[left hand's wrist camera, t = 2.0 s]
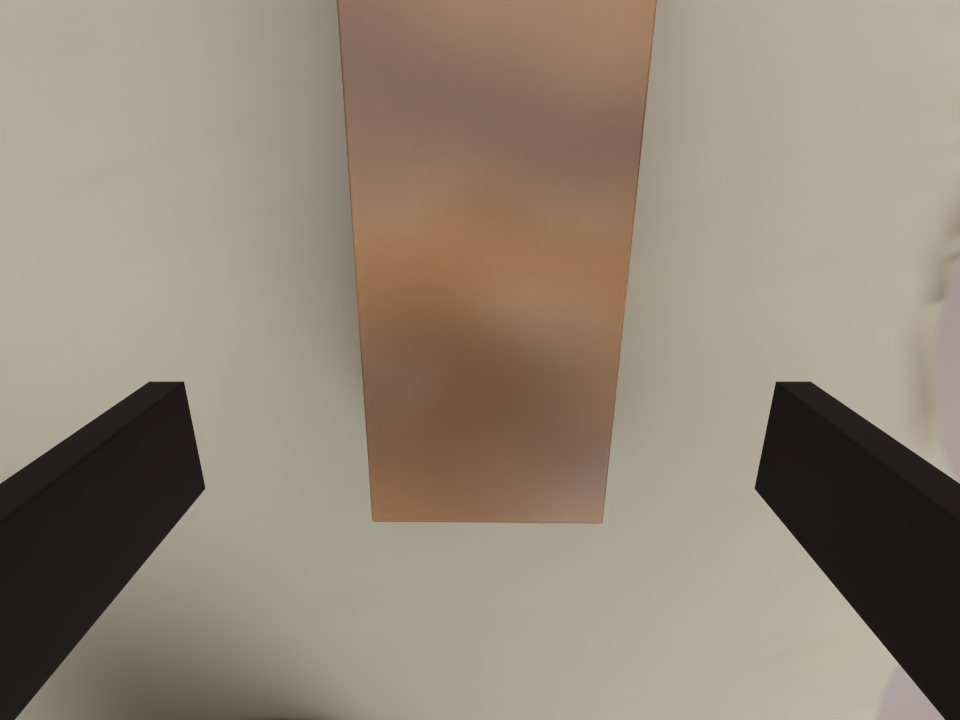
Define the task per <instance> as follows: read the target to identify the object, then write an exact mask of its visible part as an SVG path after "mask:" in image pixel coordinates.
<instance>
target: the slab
mask: <svg viewBox="0 0 960 720" xmlns="http://www.w3.org/2000/svg"><path fill="white" fill-rule="evenodd" d="M656 2H657V0H337V7H338V22H339V36H340V51H341V66H342V81H343V95H344V110H345V125H346V140H347V154H348V169H349V184H350V198H351V213H352V228H353V243H354V257H355V272H356V287H357V302H358V316H359V331H360V346H361V361H362V375H363V390H364V405H365V419H366V434H367V449H368V464H369V478H370V493H371V508H372V520H373V521H381V522H496V523H602V521H603V512H604V502H605V493H606V483H607V473H608V464H609V454H610V445H611V435H612V425H613V416H614V406H615V396H616V387H617V377H618V368H619V358H620V348H621V339H622V329H623V320H624V310H625V300H626V291H627V281H628V272H629V262H630V252H631V243H632V233H633V223H634V214H635V204H636V195H637V185H638V175H639V166H640V156H641V147H642V137H643V127H644V118H645V108H646V98H647V89H648V79H649V70H650V60H651V50H652V41H653V31H654V22H655V12H656Z"/></svg>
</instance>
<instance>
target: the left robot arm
mask: <svg viewBox="0 0 960 720" xmlns="http://www.w3.org/2000/svg"><path fill="white" fill-rule="evenodd" d="M204 489H205V485H204V480H203V475H202V470H201V465H200V460H199V455H198V450H197V445H196V440H195V435H194V430H193V425H192V420H191V415H190V410H189V405H188V400H187V395H186V390H185V385H184V382H148V383H147V384H145V385H144V386H143V387H141V388H140V389H138V390H137V391H135V392H134V393H132V394H131V395H129V396H128V397H126V398H125V399H124V400H122V401H121V402H119V403H118V404H116V405H115V406H113V407H112V408H110V409H109V410H107V411H106V412H105V413H103V414H102V415H100V416H99V417H97V418H96V419H94V420H93V421H91V422H90V423H89V424H87V425H86V426H84V427H83V428H81V429H80V430H78V431H77V432H75V433H74V434H72V435H71V436H70V437H68V438H67V439H65V440H64V441H62V442H61V443H59V444H58V445H56V446H55V447H53V448H52V449H51V450H49V451H48V452H46V453H45V454H43V455H42V456H40V457H39V458H37V459H36V460H34V461H33V462H32V463H30V464H29V465H27V466H26V467H24V468H23V469H21V470H20V471H18V472H17V473H15V474H14V475H13V476H11V477H10V478H8V479H7V480H5V481H4V482H2V483H1V484H0V720H15V719H16V717H17V716H18V715H19V714H20V713H21V711H22V710H23V709H24V708H25V707H26V705H27V704H28V703H29V702H30V700H31V699H32V698H33V697H34V696H35V694H36V693H37V692H38V691H39V690H40V688H41V687H42V686H43V685H44V683H45V682H46V681H47V680H48V679H49V677H50V676H51V675H52V674H53V673H54V671H55V670H56V669H57V668H58V667H59V665H60V664H61V663H62V662H63V660H64V659H65V658H66V657H67V656H68V654H69V653H70V652H71V651H72V650H73V648H74V647H75V646H76V645H77V643H78V642H79V641H80V640H81V639H82V637H83V636H84V635H85V634H86V633H87V631H88V630H89V629H90V628H91V626H92V625H93V624H94V623H95V622H96V620H97V619H98V618H99V617H100V616H101V614H102V613H103V612H104V611H105V610H106V608H107V607H108V606H109V605H110V603H111V602H112V601H113V600H114V599H115V597H116V596H117V595H118V594H119V593H120V591H121V590H122V589H123V588H124V586H125V585H126V584H127V583H128V582H129V580H130V579H131V578H132V577H133V576H134V574H135V573H136V572H137V571H138V570H139V568H140V567H141V566H142V565H143V563H144V562H145V561H146V560H147V559H148V557H149V556H150V555H151V554H152V553H153V551H154V550H155V549H156V548H157V546H158V545H159V544H160V543H161V542H162V540H163V539H164V538H165V537H166V536H167V534H168V533H169V532H170V531H171V529H172V528H173V527H174V526H175V525H176V523H177V522H178V521H179V520H180V519H181V517H182V516H183V515H184V514H185V513H186V511H187V510H188V509H189V508H190V506H191V505H192V504H193V503H194V502H195V500H196V499H197V498H198V497H199V496H200V494H201V493H202V492H203V491H204ZM755 489H756V491H757V492H758V493H759V494H760V496H761V497H762V498H763V499H764V500H765V502H766V503H767V504H768V505H769V506H770V508H771V509H772V510H773V511H774V513H775V514H776V515H777V516H778V517H779V519H780V520H781V521H782V522H783V523H784V525H785V526H786V527H787V528H788V529H789V531H790V532H791V533H792V534H793V536H794V537H795V538H796V539H797V540H798V542H799V543H800V544H801V545H802V546H803V548H804V549H805V550H806V551H807V553H808V554H809V555H810V556H811V557H812V559H813V560H814V561H815V562H816V563H817V565H818V566H819V567H820V568H821V570H822V571H823V572H824V573H825V574H826V576H827V577H828V578H829V579H830V580H831V582H832V583H833V584H834V585H835V586H836V588H837V589H838V590H839V591H840V593H841V594H842V595H843V596H844V597H845V599H846V600H847V601H848V602H849V603H850V605H851V606H852V607H853V608H854V610H855V611H856V612H857V613H858V614H859V616H860V617H861V618H862V619H863V620H864V622H865V623H866V624H867V625H868V626H869V628H870V629H871V630H872V631H873V633H874V634H875V635H876V636H877V637H878V639H879V640H880V641H881V642H882V643H883V645H884V646H885V647H886V648H887V650H888V651H889V652H890V653H891V654H892V656H893V657H894V658H895V659H896V660H897V662H898V663H899V664H900V665H901V667H902V668H903V669H904V670H905V671H906V673H907V674H908V675H909V676H910V677H911V679H912V680H913V681H914V682H915V683H916V685H917V686H918V687H919V688H920V689H921V691H922V692H923V693H924V694H925V696H926V697H927V698H928V699H929V700H930V702H931V703H932V704H933V705H934V706H935V708H936V709H937V710H938V711H939V713H940V714H941V715H942V716H943V717H944V719H945V720H960V484H959V483H958V482H956V481H955V480H953V479H952V478H950V477H949V476H947V475H946V474H945V473H943V472H942V471H940V470H939V469H937V468H936V467H934V466H933V465H931V464H930V463H928V462H927V461H926V460H924V459H923V458H921V457H920V456H918V455H917V454H915V453H914V452H912V451H911V450H909V449H908V448H907V447H905V446H904V445H902V444H901V443H899V442H898V441H896V440H895V439H893V438H892V437H890V436H889V435H888V434H886V433H885V432H883V431H882V430H880V429H879V428H877V427H876V426H874V425H873V424H871V423H870V422H869V421H867V420H866V419H864V418H863V417H861V416H860V415H858V414H857V413H855V412H854V411H853V410H851V409H850V408H848V407H847V406H845V405H844V404H842V403H841V402H839V401H838V400H836V399H835V398H834V397H832V396H831V395H829V394H828V393H826V392H825V391H823V390H822V389H820V388H819V387H817V386H816V385H815V384H813V383H812V382H776V385H775V390H774V395H773V400H772V405H771V410H770V415H769V420H768V425H767V430H766V435H765V440H764V445H763V450H762V455H761V460H760V465H759V470H758V475H757V480H756V485H755Z"/></svg>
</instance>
